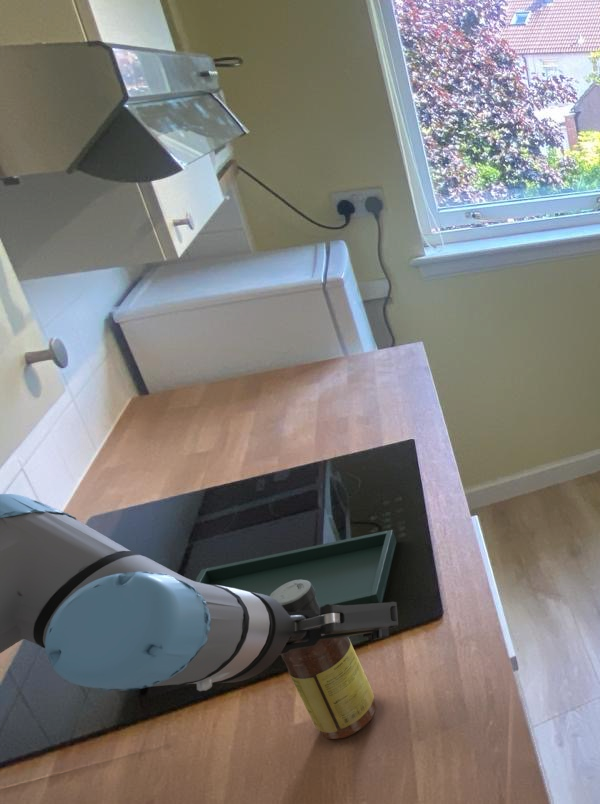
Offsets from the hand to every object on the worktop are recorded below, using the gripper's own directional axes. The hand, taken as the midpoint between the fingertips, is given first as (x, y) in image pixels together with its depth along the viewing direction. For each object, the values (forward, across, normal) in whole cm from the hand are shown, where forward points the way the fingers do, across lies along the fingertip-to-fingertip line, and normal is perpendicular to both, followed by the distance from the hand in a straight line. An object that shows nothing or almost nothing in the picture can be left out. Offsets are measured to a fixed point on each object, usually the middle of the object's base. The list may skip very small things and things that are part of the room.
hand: (317, 641), depth 82 cm
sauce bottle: (+9, 0, -9) cm, 13 cm away
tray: (+28, -12, +10) cm, 32 cm away
